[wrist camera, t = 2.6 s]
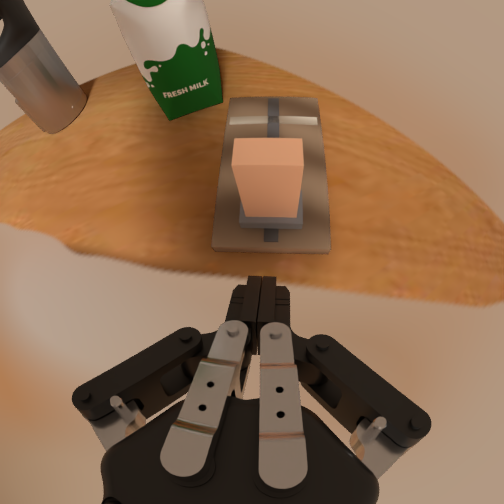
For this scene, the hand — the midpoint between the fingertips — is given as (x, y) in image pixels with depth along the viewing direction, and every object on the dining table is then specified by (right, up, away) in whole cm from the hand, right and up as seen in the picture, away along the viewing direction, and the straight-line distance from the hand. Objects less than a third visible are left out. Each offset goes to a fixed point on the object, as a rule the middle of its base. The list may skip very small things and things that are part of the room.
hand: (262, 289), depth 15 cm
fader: (+1, +5, +8) cm, 10 cm away
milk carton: (-8, +22, +16) cm, 29 cm away
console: (+2, +11, +12) cm, 16 cm away
